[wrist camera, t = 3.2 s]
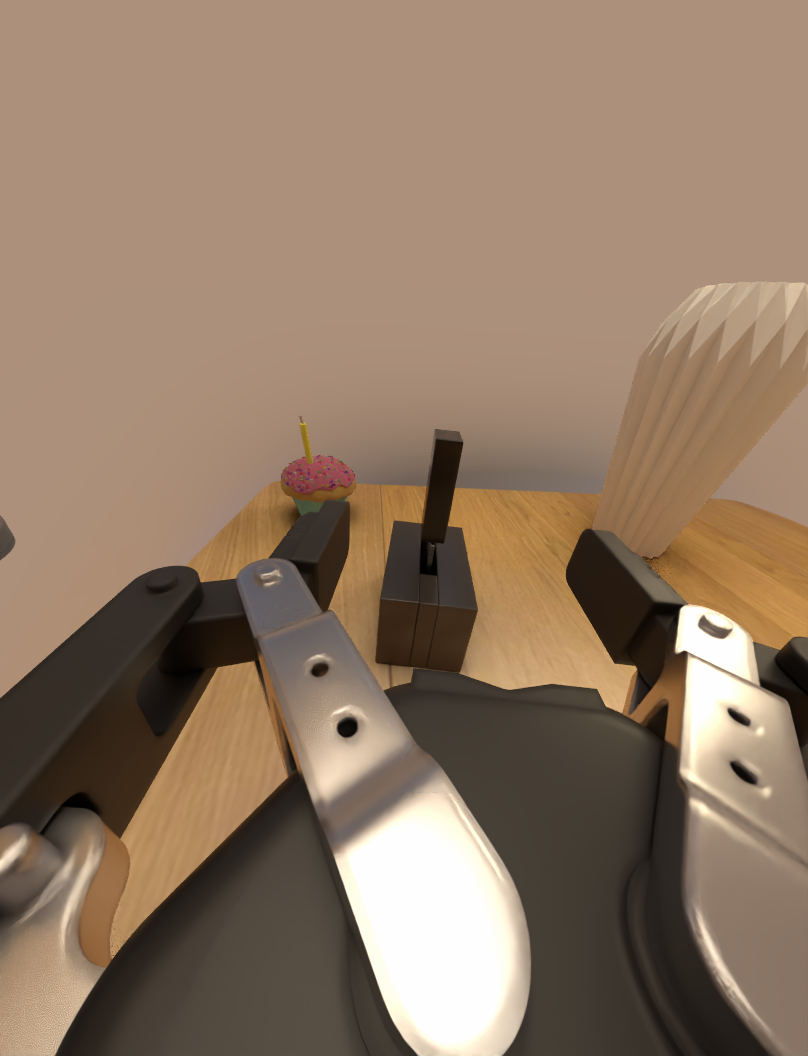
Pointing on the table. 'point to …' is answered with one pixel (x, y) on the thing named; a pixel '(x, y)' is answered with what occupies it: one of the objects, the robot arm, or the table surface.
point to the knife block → (425, 602)
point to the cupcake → (316, 479)
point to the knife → (440, 490)
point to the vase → (702, 405)
